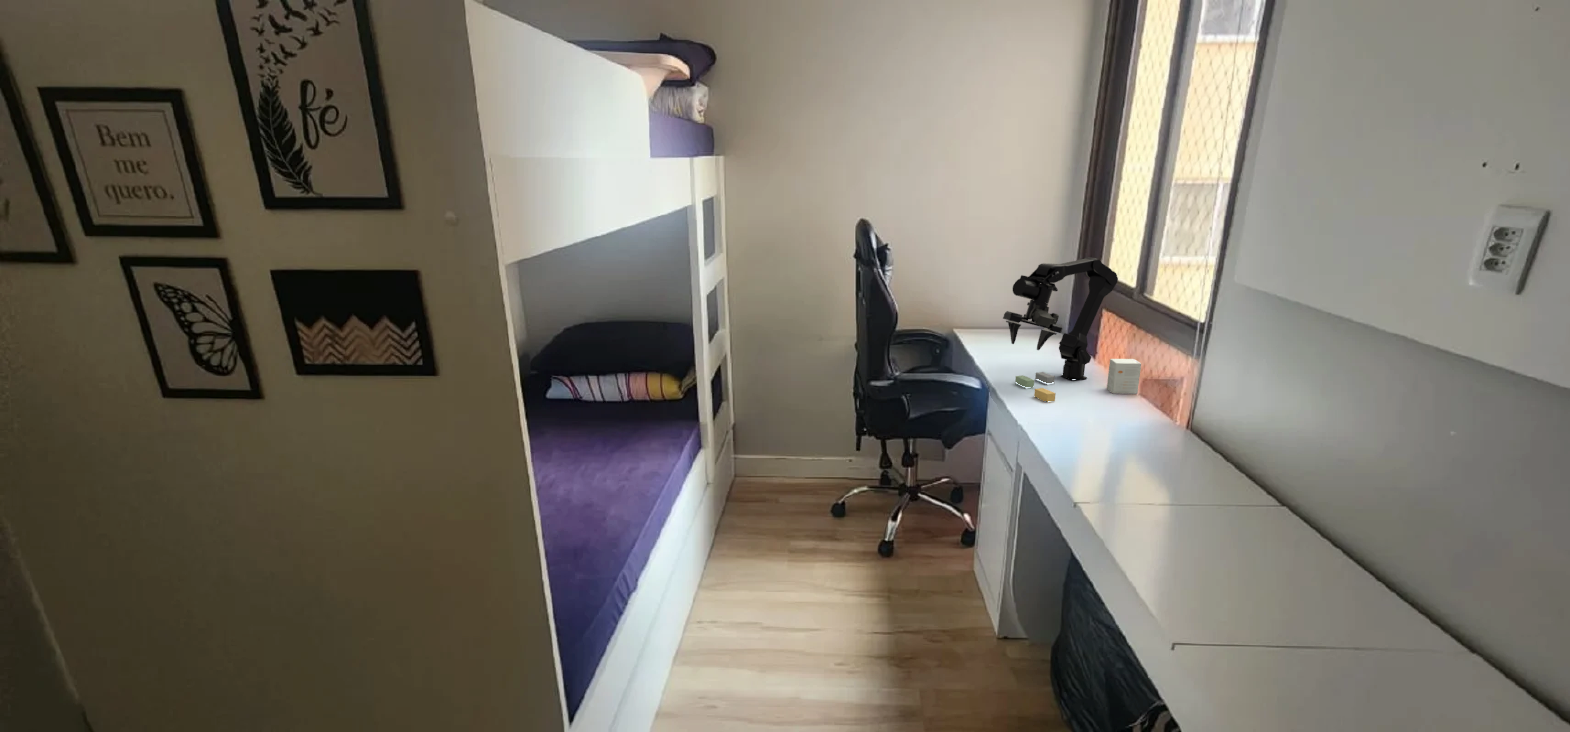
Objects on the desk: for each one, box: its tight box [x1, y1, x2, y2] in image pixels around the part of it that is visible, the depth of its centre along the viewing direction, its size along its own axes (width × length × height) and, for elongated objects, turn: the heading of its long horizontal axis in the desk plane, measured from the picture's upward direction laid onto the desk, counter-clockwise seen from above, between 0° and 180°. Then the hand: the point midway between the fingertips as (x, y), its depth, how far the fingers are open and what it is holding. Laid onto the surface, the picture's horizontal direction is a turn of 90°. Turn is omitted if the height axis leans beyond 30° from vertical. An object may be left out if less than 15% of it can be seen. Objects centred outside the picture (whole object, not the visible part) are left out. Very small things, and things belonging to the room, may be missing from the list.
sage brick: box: [1014, 374, 1035, 387], centre depth 229 cm, size 6×3×3 cm, turn 18°
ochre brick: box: [1033, 387, 1056, 402], centre depth 216 cm, size 6×3×3 cm, turn 21°
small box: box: [1106, 358, 1142, 395], centre depth 222 cm, size 8×6×10 cm
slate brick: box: [1034, 371, 1056, 383], centre depth 233 cm, size 6×3×3 cm, turn 19°
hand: (1025, 347), depth 226 cm, fingers open, 9 cm apart
